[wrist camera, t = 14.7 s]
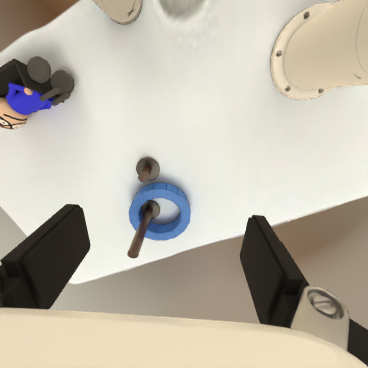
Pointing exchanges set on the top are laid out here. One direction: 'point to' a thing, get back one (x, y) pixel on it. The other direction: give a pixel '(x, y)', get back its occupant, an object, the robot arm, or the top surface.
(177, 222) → the segmented ring
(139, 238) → the tall peg
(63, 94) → the character figurine
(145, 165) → the short peg
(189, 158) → the top surface
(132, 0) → the travel mug
